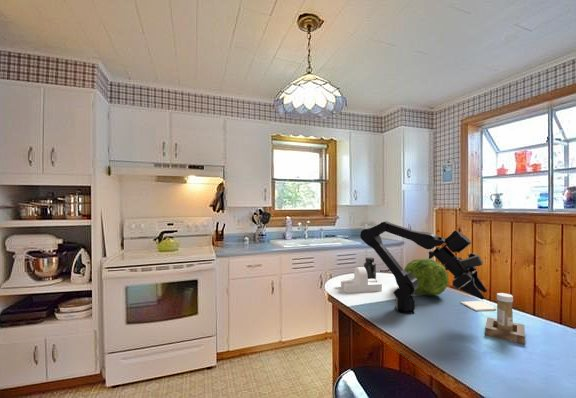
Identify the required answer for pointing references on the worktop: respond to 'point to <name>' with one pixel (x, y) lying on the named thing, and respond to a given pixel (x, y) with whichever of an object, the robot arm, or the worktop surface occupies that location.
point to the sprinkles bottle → (504, 311)
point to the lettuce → (428, 276)
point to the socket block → (505, 331)
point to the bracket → (361, 282)
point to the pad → (478, 306)
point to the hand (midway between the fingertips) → (484, 295)
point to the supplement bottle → (370, 268)
